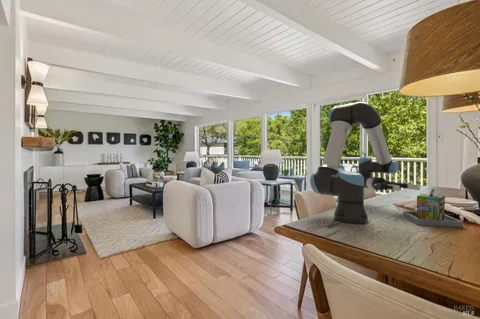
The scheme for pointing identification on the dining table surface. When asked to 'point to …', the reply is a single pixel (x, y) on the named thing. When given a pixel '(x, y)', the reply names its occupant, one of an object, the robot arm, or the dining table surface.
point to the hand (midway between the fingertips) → (409, 187)
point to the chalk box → (430, 206)
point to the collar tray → (446, 222)
